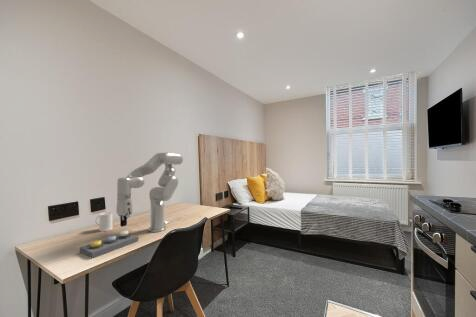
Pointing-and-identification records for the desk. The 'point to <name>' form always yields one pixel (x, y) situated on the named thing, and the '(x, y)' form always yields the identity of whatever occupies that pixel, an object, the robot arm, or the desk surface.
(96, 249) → the control board
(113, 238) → the slate button
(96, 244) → the mustard button
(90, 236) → the desk surface
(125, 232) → the cream button
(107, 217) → the mug
